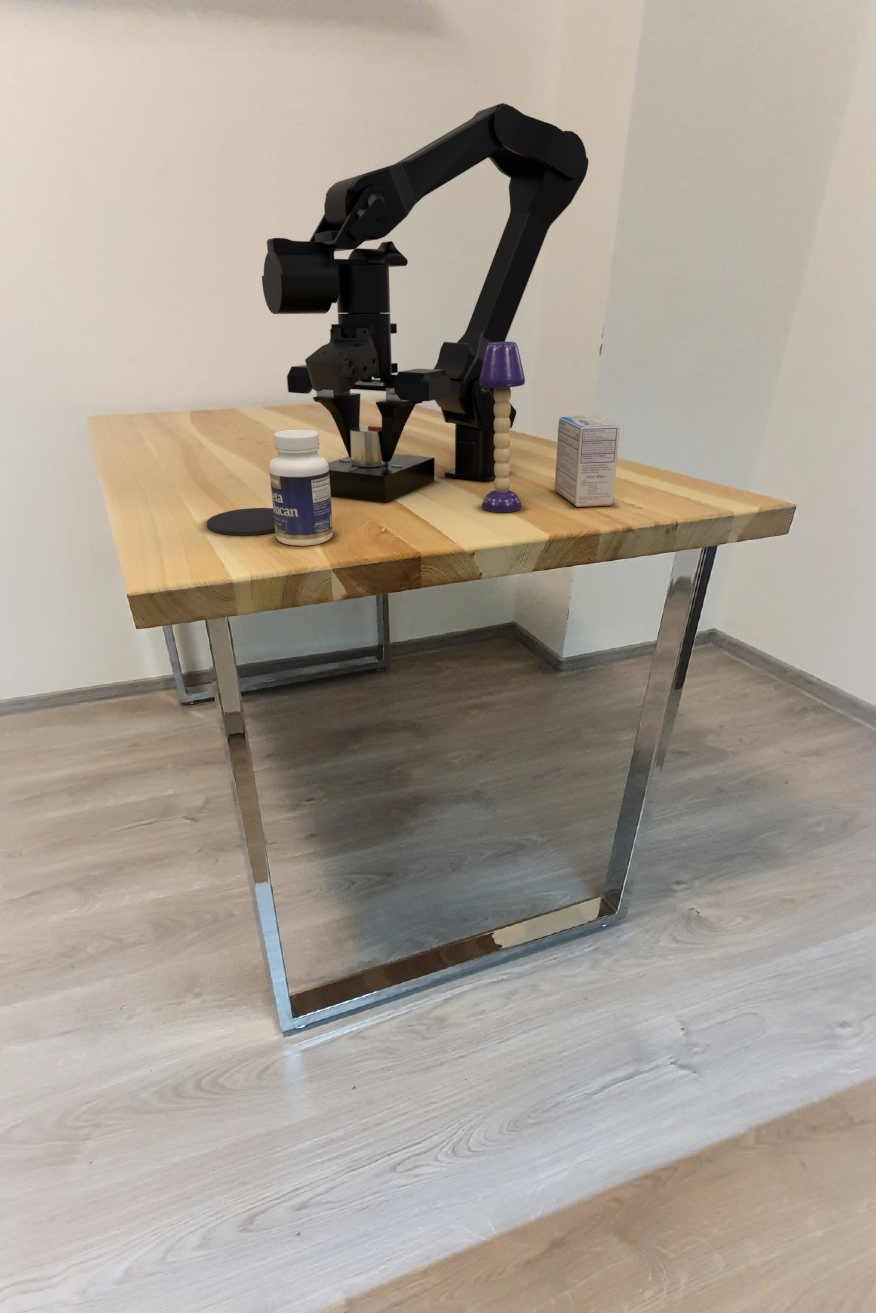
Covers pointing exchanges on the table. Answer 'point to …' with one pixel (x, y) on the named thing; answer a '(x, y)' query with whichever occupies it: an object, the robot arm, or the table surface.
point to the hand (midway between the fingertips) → (369, 459)
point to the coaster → (243, 522)
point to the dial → (366, 446)
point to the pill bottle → (300, 489)
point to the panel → (381, 478)
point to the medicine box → (586, 460)
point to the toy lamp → (502, 418)
